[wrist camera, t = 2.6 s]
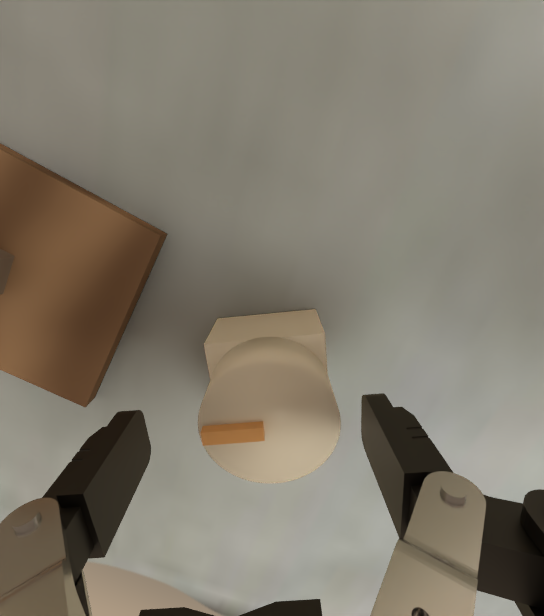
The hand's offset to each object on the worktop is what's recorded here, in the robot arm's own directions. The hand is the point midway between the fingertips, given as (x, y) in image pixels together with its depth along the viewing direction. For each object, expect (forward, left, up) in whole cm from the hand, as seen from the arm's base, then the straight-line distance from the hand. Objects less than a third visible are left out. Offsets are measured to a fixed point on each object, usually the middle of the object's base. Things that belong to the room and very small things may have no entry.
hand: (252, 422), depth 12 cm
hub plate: (+14, +2, -7) cm, 16 cm away
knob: (-1, 0, -7) cm, 7 cm away
